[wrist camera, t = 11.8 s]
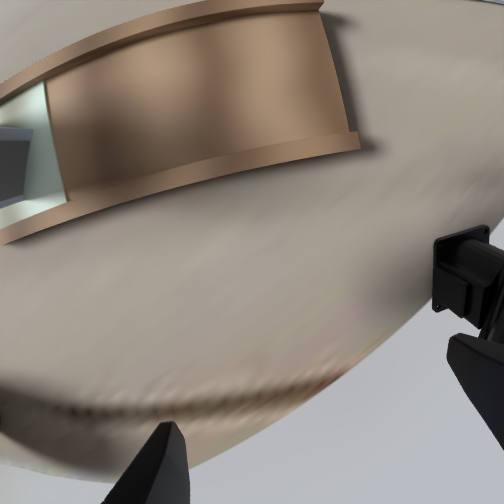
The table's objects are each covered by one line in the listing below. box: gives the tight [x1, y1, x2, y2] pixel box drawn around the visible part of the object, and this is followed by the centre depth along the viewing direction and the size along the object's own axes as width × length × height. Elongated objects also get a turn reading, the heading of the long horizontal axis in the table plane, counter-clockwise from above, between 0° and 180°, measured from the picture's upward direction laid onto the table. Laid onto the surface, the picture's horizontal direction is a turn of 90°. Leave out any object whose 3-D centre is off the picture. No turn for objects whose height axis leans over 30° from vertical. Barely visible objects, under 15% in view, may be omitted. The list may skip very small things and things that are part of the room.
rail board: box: [0, 0, 361, 246], centre depth 16 cm, size 26×10×3 cm, turn 102°
